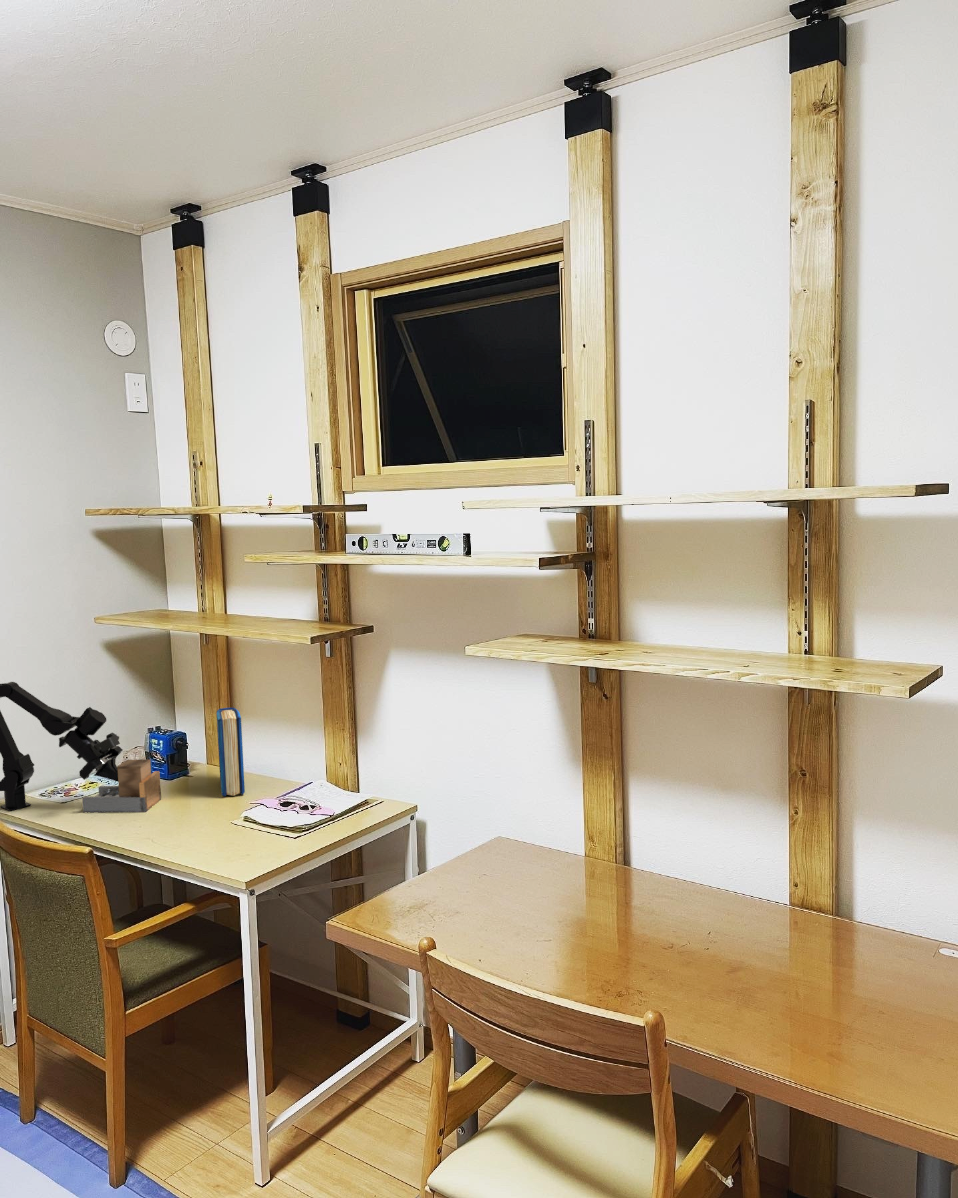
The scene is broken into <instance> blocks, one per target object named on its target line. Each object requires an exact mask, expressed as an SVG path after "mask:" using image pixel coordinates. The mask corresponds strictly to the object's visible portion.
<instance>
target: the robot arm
mask: <svg viewBox="0 0 958 1198" xmlns="http://www.w3.org/2000/svg"><path fill="white" fill-rule="evenodd" d="M1 698H7V699H8V700H10V701H11V702H13V703H14V704H16V705H17V706H19V707H20V708H21V709H23V710H24V711H26V712H28V713H29V714H30V715H31V716H33V717H35V718H36V719H37V720H38V721H39V722H40V724H41V726H42V727H43V728H44V729H45V730H46V731H47V732H48V733H49V734H50V735H52V736H54V737H55V736H61V735H62V734H64V733H65V735H63V736H61V737H59V738H58V748H62V747H65V746H66V745H67V746H68V747H70V748H71V750H73V751H74V752H75V753H76V754H77V756H76V758H77V759H78V760H80V759H83V760H84V761H85V762H86V763H85V765H83V767H82V768H81V769H80V770H79V773H78V774H79V776H80V778H81V779H82V780H83V781H84V780H87V779H88V778H89V777H90V774H91V773H92V772H93V771H95V774H94V775H93V776H95V777H100V778H103V779H108V780H112V781H115V782H117V783H118V769H117V766H118V765H117V764H116V761H117V757H118V756H119V755H120V754H121V753H122V752H123V749H122V748H121V747H120V746H119V745H120V744H121V743H120V736H119V735H117V733H116V734H115V733H114V732H112V731H111V732H110V733H109V734H106V735H105V736H106V738H105V739H104V740H102V741H100V740H98V739H94V740H93V739H92V738H91V737H90V736H94V735H96V734H97V732H98V731H99V730H100V729H101V728H102V727H103V726H104V724H106V722H107V717H106V716H105V714H104V713H103V712H102V711H101V712H100V711H99V710H96V709H93V708H92V707H91V706H89V707H87V708H86V709H85V710H84V711H83V713H82V714H81V715H80V716H72V715H71V714H70V713H68V712H65V711H64V710H61V709H58V708H55V707H51V706H49V705H48V704H46V703H44V702H43V701H41V700H40V699H39V698H38V697H35V695H33V694H32V693H30V692H28V691H27V690H26V689H24V688H23V687H22V686H20V685H19V684H18V683H17V682H16V681H10V682H6V683H5V682H4V683H3V682H2V683H0V699H1ZM73 728H74V729H73ZM72 729H73V730H72ZM0 756H1V757H2V772H3V776H4V777H3V778H2V779H1V780H0V792H3V795H4V804H2V805H0V808H1V809H4V810H6V811H9V812H12V811H15V810H18V809H22V808H26V807H30V806H32V805H31V803H29V802H27V801H26V799H27V798H26V789H25V787H26V786H25V785H26V784H29V782H30V780H31V778H32V776H34V773H35V768H34V766H35V763H33V760H32V758H31V756H30V754H29V753H26V754H23V753H22V752H21V751H20V750H19V747H18V746H17V743H16V742H15V739H14V737H13V735H12V732H11V731H10V728H9V725H8V724H7V722H6V719H5V717H4V716H3V713H2V712H1V710H0Z"/></svg>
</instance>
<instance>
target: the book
mask: <svg viewBox="0 0 958 1198" xmlns="http://www.w3.org/2000/svg"><path fill="white" fill-rule="evenodd" d="M242 726H243V725H242V717H241V713H240V711H239V710H238V709H237V708H235V707H223V708H222V707H221V708H219V709H217V710H216V727H217V728H216V729H217V732H216V733H217V746H218V747H217V749H218V762H219V763H218V766H219V780H220V781H219V783H220V792H221V796H223V797H226V796H227V795H228V796H236V795H239V794H241V795H244V794H245V792H246V791H245V789H246V787H245V770H244V767H245V765H244V750H243V732H242V731H243V729H242Z"/></svg>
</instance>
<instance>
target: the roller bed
mask: <svg viewBox="0 0 958 1198" xmlns="http://www.w3.org/2000/svg"><path fill="white" fill-rule="evenodd" d="M160 775H161V774H160V770H155V771H153V772H151V774H150V775H149V776H147V777H146V778H145V779H143V780H142V781H141V782H139V790H140V796H119V785H100V786H98V793H97V794H96V795H94V796H83V797H82V811H83V812H82V813H84V814H85V812H87V813H88V812H90V813H94V812H98V813H147V812H148V811H149V810H150V809H152V808H153V807H154V806H155V805H156V804H158V803H159V802H160V801H161V800H162V791H161V776H160ZM152 806H153V807H152Z"/></svg>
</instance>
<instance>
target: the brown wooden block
mask: <svg viewBox="0 0 958 1198" xmlns="http://www.w3.org/2000/svg"><path fill="white" fill-rule="evenodd" d="M116 766H117V769H118V782H117V783H118V786H119V796H140V790H139V782H141V781H142V780H143V779H145V778H146V777H147V776H149V775H150V774H152V771H151V766H152V765H151V759H149V758H147V759H143V758H142V759H126V760H125V761H123V762H121V763H120V764H119V765H116Z"/></svg>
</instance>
